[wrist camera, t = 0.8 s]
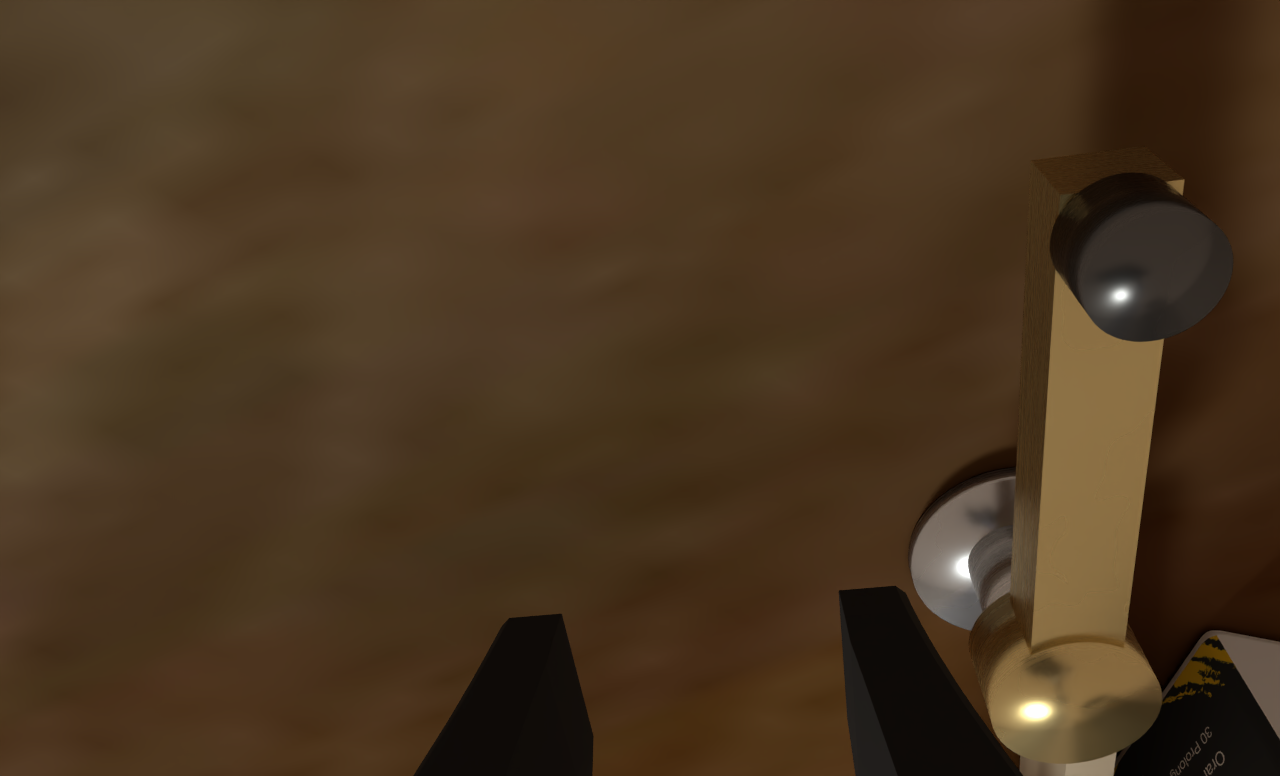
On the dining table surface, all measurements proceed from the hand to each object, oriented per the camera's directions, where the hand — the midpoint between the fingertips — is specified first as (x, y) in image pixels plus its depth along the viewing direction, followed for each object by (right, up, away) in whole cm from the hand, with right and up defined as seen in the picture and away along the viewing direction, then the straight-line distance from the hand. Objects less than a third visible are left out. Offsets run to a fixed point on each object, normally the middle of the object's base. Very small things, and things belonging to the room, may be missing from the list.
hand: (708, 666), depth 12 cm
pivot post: (+7, 0, +11) cm, 13 cm away
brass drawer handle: (+7, +2, +6) cm, 9 cm away
